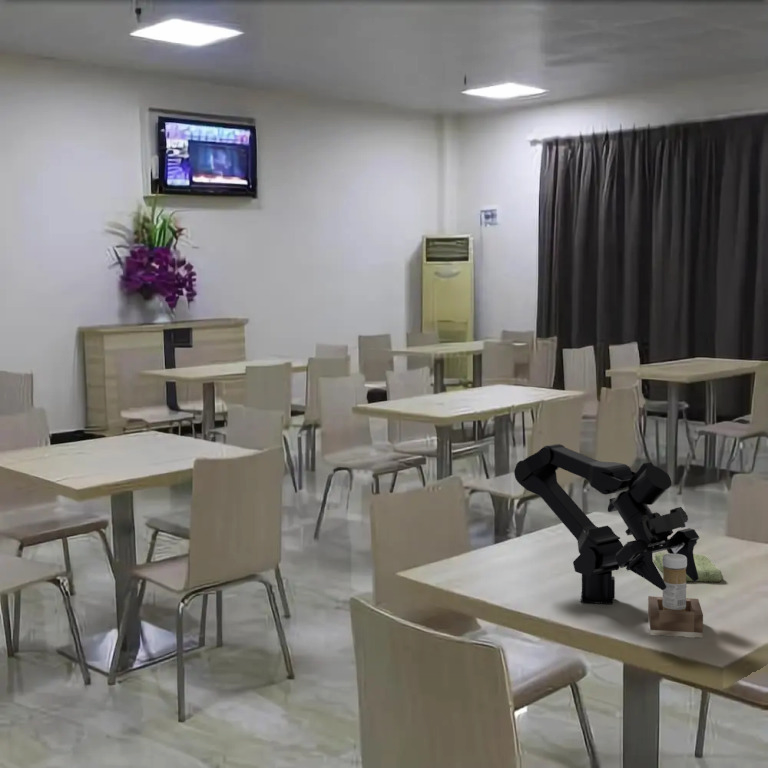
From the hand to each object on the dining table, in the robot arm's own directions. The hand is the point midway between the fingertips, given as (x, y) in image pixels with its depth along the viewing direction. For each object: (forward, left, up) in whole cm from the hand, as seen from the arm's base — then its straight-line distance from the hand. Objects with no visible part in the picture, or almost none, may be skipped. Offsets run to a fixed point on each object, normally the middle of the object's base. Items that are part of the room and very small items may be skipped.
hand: (680, 584), depth 191 cm
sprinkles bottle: (-1, +1, -8) cm, 8 cm away
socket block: (-1, +1, -9) cm, 9 cm away
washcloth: (+5, +40, -10) cm, 41 cm away
